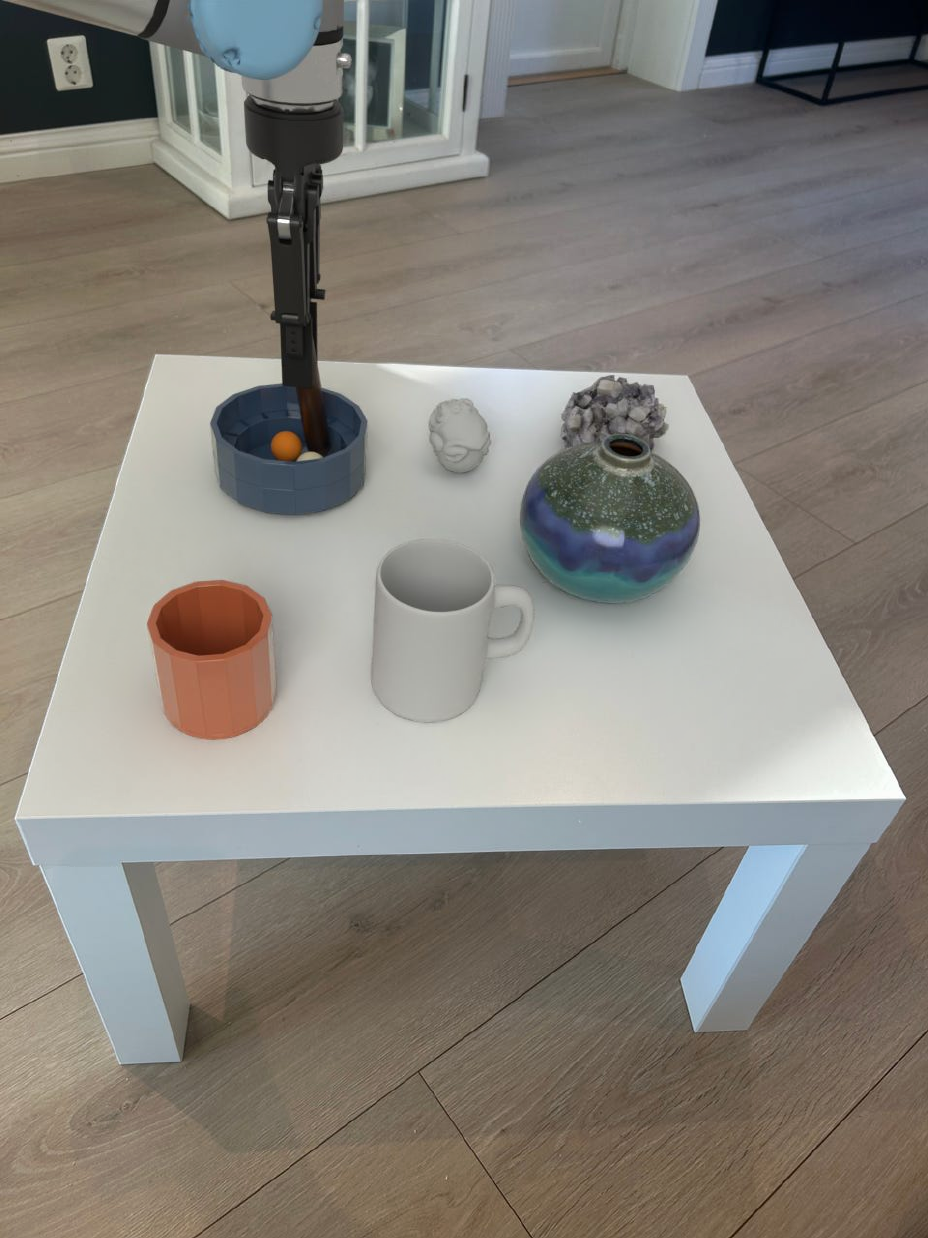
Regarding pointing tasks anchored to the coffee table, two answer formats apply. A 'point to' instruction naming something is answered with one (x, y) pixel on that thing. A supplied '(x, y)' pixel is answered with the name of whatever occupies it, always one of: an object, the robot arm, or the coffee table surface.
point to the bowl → (283, 484)
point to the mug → (438, 628)
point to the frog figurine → (458, 435)
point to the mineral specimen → (613, 412)
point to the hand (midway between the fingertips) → (300, 376)
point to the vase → (609, 520)
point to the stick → (314, 414)
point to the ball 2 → (309, 456)
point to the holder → (213, 658)
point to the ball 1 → (286, 446)
